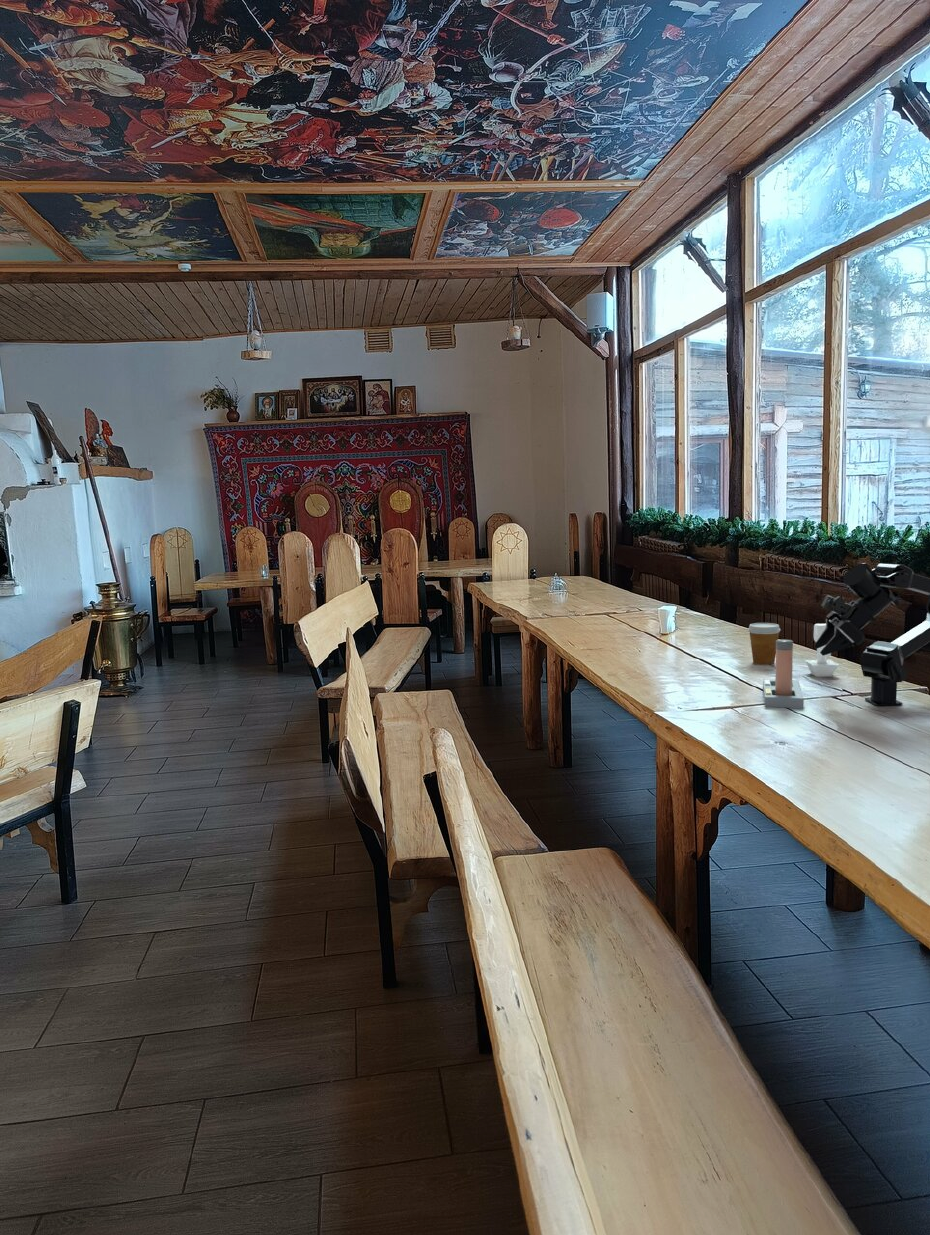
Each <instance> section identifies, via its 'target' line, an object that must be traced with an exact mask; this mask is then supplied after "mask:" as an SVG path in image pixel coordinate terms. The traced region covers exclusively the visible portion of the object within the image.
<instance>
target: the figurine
mask: <svg viewBox="0 0 930 1235" xmlns="http://www.w3.org/2000/svg"><path fill="white" fill-rule="evenodd" d="M825 628H826V622H825V623H815V624H813V641H814V642H815V643H816V642H817V640H818V639H819V637H820V636H821V634H822V633H823V631H824V630H825ZM824 647H825V645H824V646H822V647H820V648H816V659H804V661H805V663H806V666H807V667H808V670H809V671H810V674H811V675H813V676H815V677H819V678H820V677H833V675H834V674H835V673H836V671H837V669H838V667H839V666H840V664H839V663H837V662H835V661H833V660H832V659H828V658H829V657H831V656H832V653H830V654H827V655H824V656H823V655H822V654H821V653H820V652H821V650H822V649H823V648H824Z"/></svg>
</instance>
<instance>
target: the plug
mask: <svg viewBox="0 0 930 1235" xmlns="http://www.w3.org/2000/svg"><path fill="white" fill-rule="evenodd" d="M793 656H794V641H793V640H792V639H778V640H776V655H775V674H774V675H775V678H774V679H775V695H783V696H792V680H793V668H794V667H793V662H794V659H793V658H794V657H793Z"/></svg>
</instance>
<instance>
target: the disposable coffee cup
mask: <svg viewBox="0 0 930 1235" xmlns="http://www.w3.org/2000/svg"><path fill="white" fill-rule="evenodd" d="M747 630H748V632H749V638H750V647H751V657H752V663H753V664H756V665H763V666H765V665H766V666H767V665H773V664H775V663H776V640H779V634H780V632H781V628H780V625H779V623H778V624H777V623H773V622H755V623H750V624H749V626H748V628H747Z"/></svg>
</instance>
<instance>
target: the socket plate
mask: <svg viewBox="0 0 930 1235" xmlns="http://www.w3.org/2000/svg"><path fill="white" fill-rule="evenodd" d="M800 684H801V683H800V680H799V679H792V696H783V695H775V678H772V679H771V678H763V680H762V690H763V699H764V700H763V703H764V708H765V707H766V708H791V709H804V707H805V706H804V704H805V702H804V701H805V700H804V699H805V698H804V694H803V691H802V688H801V685H800Z"/></svg>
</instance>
